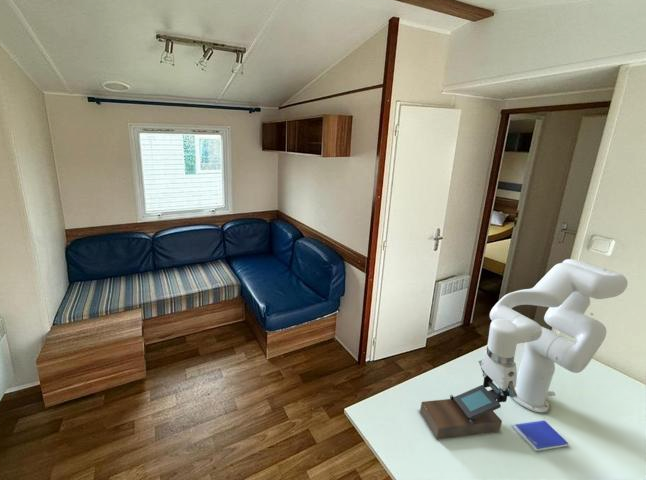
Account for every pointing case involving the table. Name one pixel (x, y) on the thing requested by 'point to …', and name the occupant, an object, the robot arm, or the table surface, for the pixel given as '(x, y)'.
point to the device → (478, 401)
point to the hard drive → (540, 435)
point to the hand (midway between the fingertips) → (494, 392)
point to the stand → (456, 420)
